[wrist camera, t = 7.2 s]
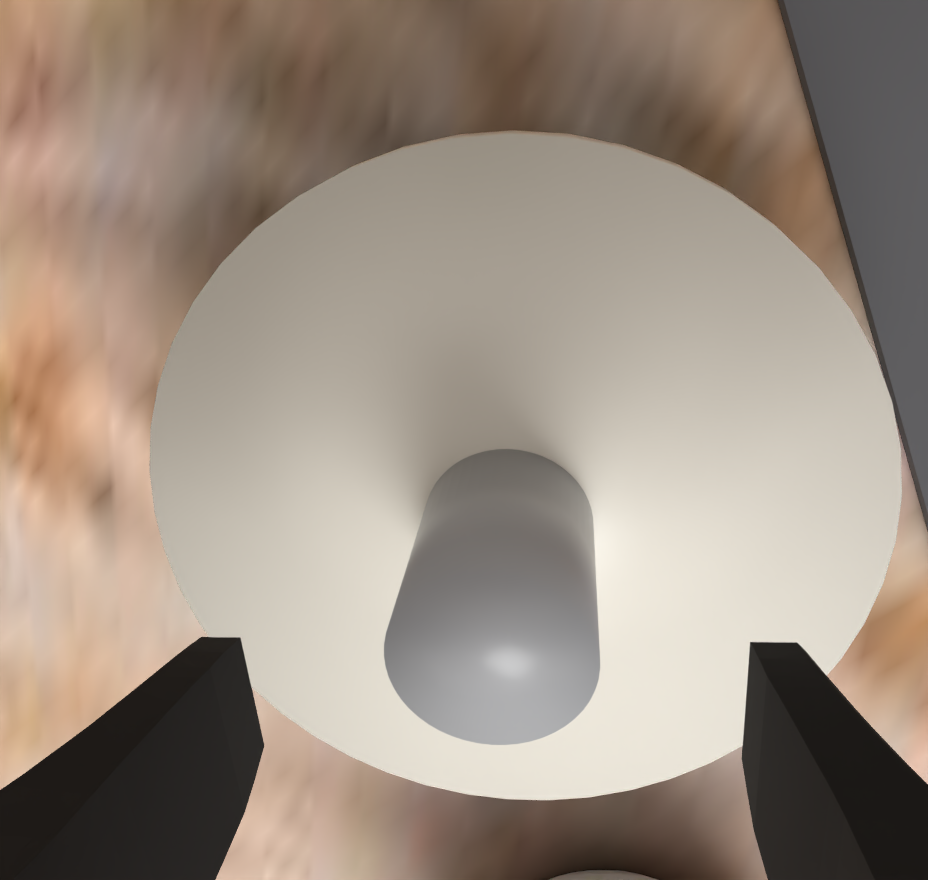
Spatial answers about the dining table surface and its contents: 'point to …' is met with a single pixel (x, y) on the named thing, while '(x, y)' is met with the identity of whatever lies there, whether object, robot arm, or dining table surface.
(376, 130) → the dining table surface
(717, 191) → the lid
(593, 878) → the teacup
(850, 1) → the mat
